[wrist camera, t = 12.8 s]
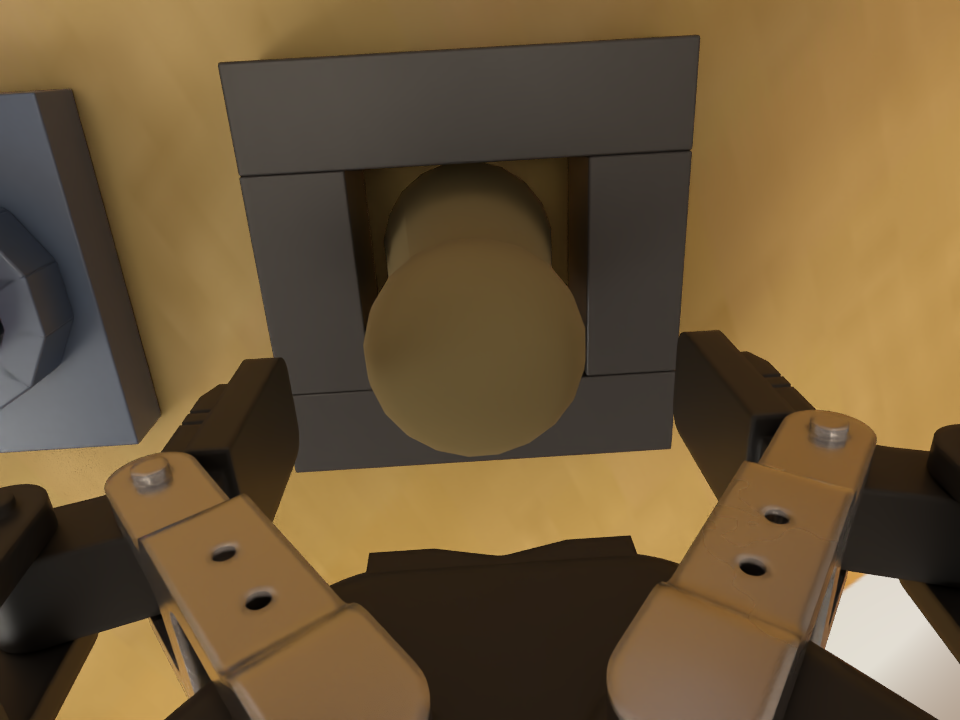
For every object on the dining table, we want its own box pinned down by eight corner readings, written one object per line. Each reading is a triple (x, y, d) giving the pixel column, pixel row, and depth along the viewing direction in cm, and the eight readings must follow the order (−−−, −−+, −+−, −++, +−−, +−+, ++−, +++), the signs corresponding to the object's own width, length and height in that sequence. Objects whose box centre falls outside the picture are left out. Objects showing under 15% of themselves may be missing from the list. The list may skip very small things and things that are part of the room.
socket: (256, 60, 22) (216, 62, 18) (660, 37, 22) (701, 34, 18) (316, 417, 27) (295, 473, 24) (642, 396, 27) (671, 449, 24)
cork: (581, 273, 25) (664, 420, 15) (442, 353, 26) (434, 538, 16) (498, 125, 23) (531, 183, 13) (350, 219, 24) (275, 338, 14)
